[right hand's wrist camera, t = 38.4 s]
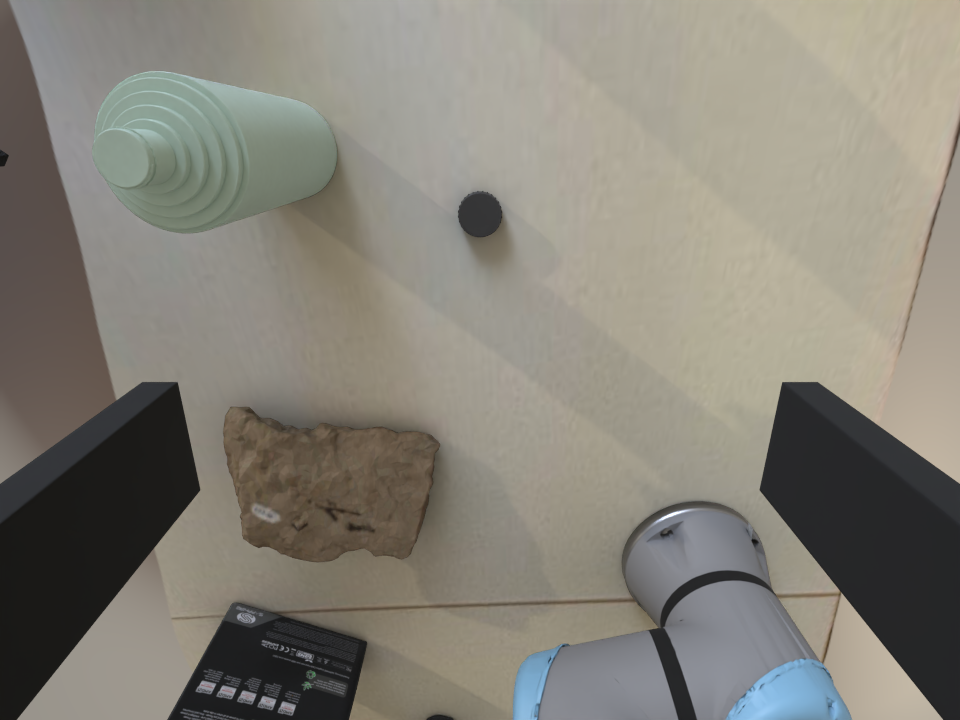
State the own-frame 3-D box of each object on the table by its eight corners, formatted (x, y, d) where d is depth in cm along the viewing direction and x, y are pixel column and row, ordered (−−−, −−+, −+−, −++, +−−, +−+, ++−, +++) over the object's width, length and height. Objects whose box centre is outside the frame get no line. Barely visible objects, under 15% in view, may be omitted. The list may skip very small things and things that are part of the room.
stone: (217, 537, 59) (202, 567, 53) (231, 399, 57) (216, 414, 51) (418, 546, 64) (423, 575, 58) (437, 419, 62) (444, 436, 56)
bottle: (234, 181, 49) (24, 216, 27) (251, 83, 47) (31, 29, 24) (325, 211, 50) (197, 270, 28) (347, 117, 48) (224, 97, 25)
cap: (505, 229, 51) (506, 232, 50) (463, 239, 51) (463, 241, 50) (496, 186, 50) (497, 187, 48) (454, 196, 50) (453, 197, 48)
